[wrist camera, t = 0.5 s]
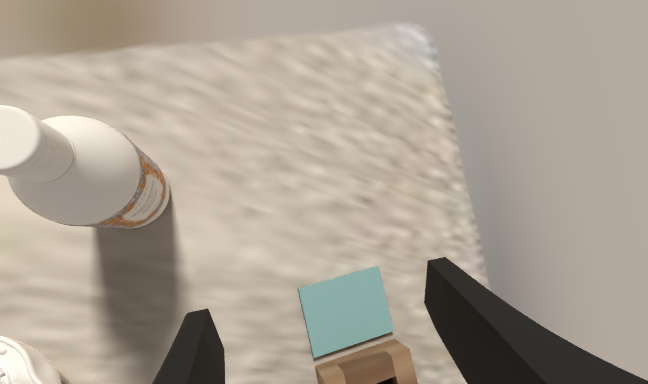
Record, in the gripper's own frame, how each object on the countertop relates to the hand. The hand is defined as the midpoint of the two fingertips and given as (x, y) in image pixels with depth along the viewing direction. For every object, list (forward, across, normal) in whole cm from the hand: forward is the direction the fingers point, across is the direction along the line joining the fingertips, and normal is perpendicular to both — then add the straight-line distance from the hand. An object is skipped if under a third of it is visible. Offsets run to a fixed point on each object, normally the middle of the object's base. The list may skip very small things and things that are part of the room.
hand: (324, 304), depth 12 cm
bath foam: (+25, +15, +7) cm, 30 cm away
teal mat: (+17, -4, +22) cm, 28 cm away
